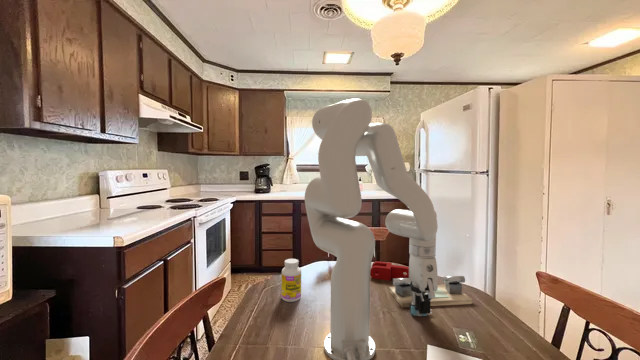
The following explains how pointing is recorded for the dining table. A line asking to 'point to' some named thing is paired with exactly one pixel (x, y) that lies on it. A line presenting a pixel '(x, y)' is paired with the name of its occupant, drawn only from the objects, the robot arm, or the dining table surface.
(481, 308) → the dining table surface
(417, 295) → the push button
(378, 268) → the mechanical linkage
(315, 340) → the dining table surface
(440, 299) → the board
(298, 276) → the supplement bottle
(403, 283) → the cylinder and cube
